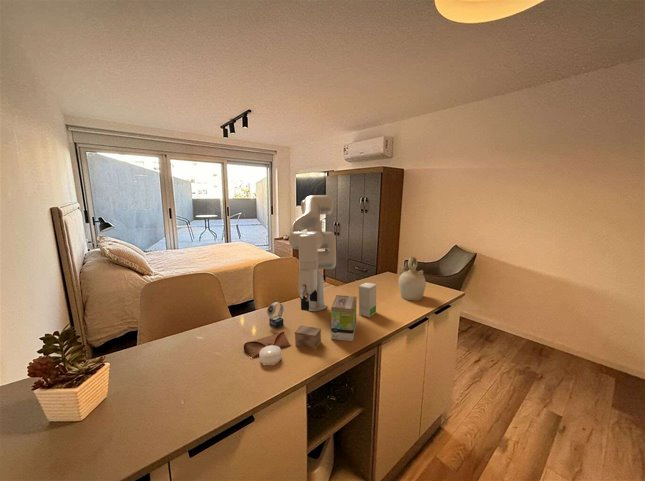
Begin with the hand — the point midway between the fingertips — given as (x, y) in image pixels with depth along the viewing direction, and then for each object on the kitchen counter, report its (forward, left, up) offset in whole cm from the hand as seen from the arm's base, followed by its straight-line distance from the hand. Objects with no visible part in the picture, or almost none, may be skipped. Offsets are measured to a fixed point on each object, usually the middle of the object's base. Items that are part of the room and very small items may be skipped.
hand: (309, 305), depth 107 cm
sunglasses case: (-16, -8, -18) cm, 25 cm away
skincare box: (+18, +36, -17) cm, 43 cm away
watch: (-22, +11, -17) cm, 30 cm away
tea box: (+11, +14, -17) cm, 24 cm away
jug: (+40, +66, -17) cm, 79 cm away
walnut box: (-1, 0, -17) cm, 17 cm away
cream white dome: (-11, -15, -17) cm, 25 cm away
